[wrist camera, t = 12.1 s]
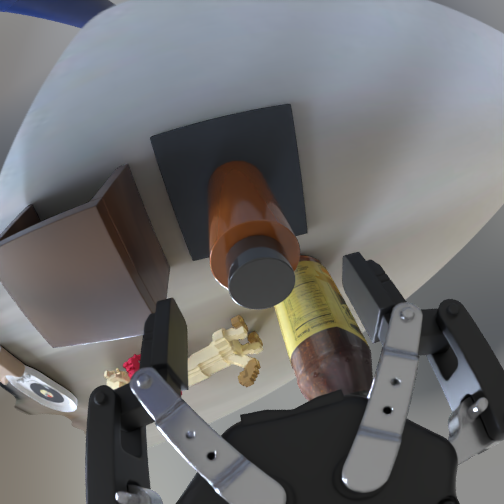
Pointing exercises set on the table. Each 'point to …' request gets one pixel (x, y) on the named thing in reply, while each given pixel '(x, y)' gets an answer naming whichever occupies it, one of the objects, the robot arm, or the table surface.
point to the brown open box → (86, 267)
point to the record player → (35, 384)
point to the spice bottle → (249, 237)
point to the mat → (226, 150)
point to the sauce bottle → (323, 335)
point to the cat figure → (209, 358)
